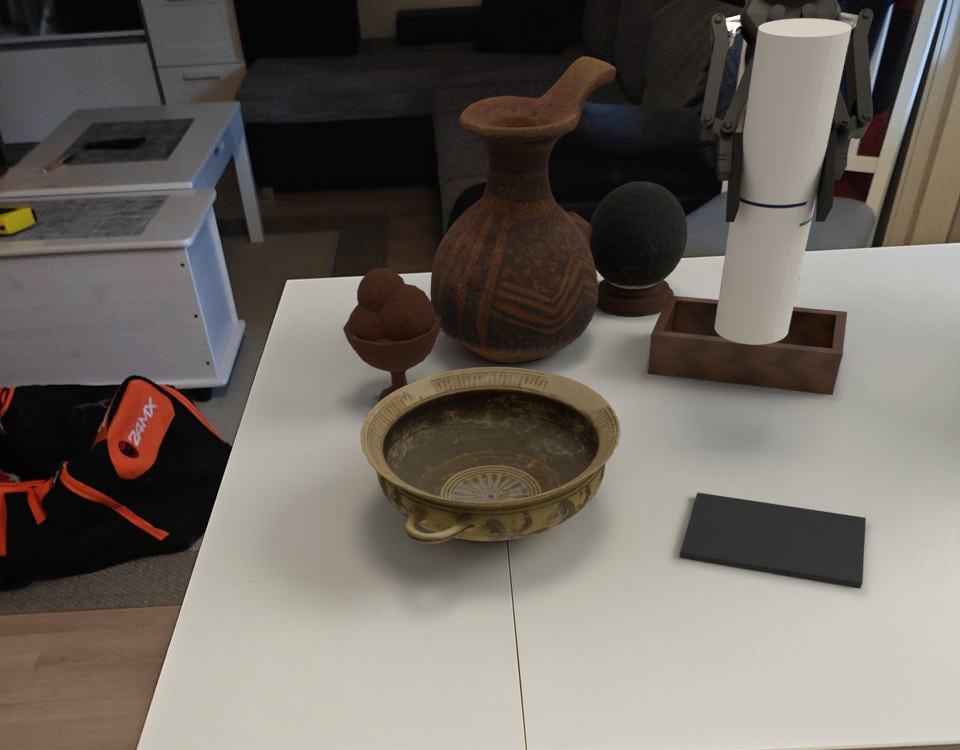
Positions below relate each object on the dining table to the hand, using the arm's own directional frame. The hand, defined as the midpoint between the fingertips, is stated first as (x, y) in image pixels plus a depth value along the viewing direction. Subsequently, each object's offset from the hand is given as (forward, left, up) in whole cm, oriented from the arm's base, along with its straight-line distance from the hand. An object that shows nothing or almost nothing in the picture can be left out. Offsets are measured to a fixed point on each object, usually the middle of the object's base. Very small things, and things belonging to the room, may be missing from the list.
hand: (777, 214), depth 76 cm
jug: (+31, -20, -25) cm, 44 cm away
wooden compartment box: (+2, -21, -24) cm, 32 cm away
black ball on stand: (+19, -36, -25) cm, 48 cm away
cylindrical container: (+1, -3, -12) cm, 13 cm away
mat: (-5, +14, -24) cm, 29 cm away
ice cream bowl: (+40, -2, -25) cm, 47 cm away
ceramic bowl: (+22, +17, -25) cm, 37 cm away
